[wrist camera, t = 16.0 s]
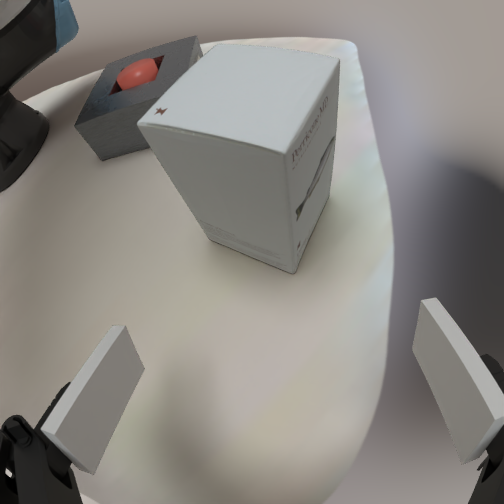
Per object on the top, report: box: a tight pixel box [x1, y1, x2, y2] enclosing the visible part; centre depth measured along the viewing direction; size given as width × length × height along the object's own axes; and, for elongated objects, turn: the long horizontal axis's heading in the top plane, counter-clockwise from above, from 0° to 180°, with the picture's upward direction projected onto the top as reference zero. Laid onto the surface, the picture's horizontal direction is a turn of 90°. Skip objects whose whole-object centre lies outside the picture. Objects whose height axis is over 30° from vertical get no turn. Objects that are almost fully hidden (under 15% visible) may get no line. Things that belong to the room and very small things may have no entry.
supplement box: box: [137, 44, 340, 274], centre depth 17 cm, size 7×7×13 cm
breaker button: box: [116, 58, 159, 91], centre depth 27 cm, size 4×4×5 cm
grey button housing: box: [74, 36, 203, 161], centre depth 28 cm, size 12×12×6 cm
